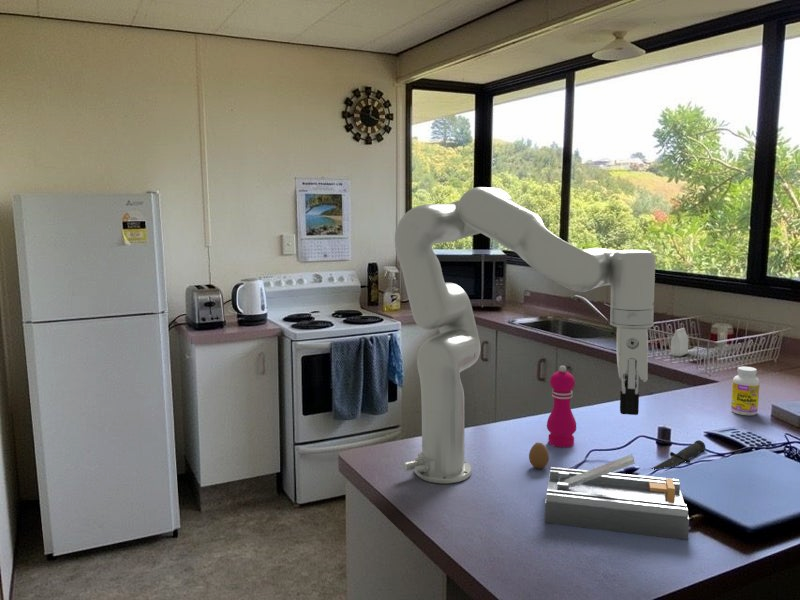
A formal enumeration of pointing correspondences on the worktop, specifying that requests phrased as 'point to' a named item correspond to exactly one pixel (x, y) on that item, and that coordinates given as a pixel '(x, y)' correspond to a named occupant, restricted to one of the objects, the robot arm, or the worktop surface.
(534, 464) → the egg
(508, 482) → the worktop surface
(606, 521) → the grey ridged tray
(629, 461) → the light grey bar
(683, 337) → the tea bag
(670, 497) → the latch
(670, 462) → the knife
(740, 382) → the supplement bottle
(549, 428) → the pepper mill
